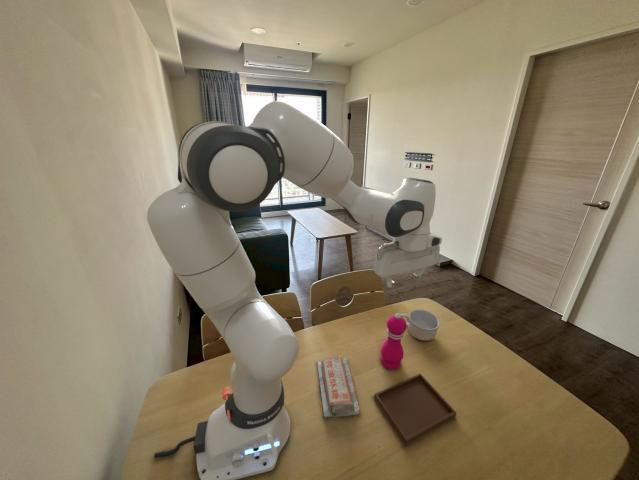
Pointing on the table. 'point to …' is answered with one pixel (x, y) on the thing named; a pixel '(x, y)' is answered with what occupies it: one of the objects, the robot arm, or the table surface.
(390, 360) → the pepper mill
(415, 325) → the teacup
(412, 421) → the tray
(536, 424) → the table surface
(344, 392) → the packaged product
